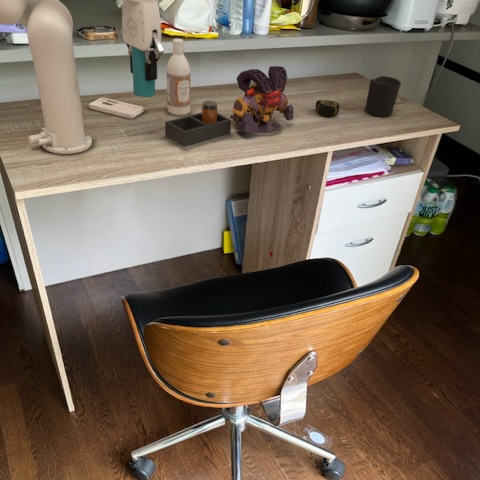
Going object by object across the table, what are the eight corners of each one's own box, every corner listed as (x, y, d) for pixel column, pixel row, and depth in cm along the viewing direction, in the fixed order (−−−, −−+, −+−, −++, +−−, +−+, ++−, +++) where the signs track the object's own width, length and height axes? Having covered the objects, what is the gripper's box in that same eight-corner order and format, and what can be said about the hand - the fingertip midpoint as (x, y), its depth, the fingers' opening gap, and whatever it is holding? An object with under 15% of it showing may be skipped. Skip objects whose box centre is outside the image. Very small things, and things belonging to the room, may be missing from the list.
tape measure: (335, 111, 171) (337, 99, 168) (339, 118, 166) (342, 106, 163) (314, 110, 170) (316, 98, 168) (318, 118, 165) (320, 105, 162)
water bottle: (141, 98, 130) (139, 30, 120) (129, 91, 133) (126, 24, 123) (159, 95, 133) (158, 28, 123) (147, 88, 136) (145, 22, 126)
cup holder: (184, 149, 141) (184, 132, 138) (165, 138, 145) (165, 121, 142) (230, 135, 150) (231, 119, 147) (210, 125, 154) (211, 109, 151)
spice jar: (208, 136, 147) (208, 107, 142) (198, 130, 149) (198, 102, 144) (219, 132, 149) (221, 104, 144) (209, 127, 152) (210, 99, 146)
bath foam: (174, 117, 157) (173, 44, 144) (163, 109, 161) (161, 37, 148) (194, 114, 160) (195, 42, 147) (183, 106, 164) (183, 35, 151)
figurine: (245, 143, 146) (250, 81, 135) (217, 125, 154) (220, 65, 143) (299, 130, 156) (308, 71, 145) (271, 115, 164) (277, 57, 153)
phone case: (88, 108, 158) (131, 119, 154) (87, 103, 157) (131, 114, 153) (102, 101, 163) (144, 111, 159) (102, 96, 162) (144, 106, 158)
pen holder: (395, 119, 169) (404, 86, 162) (366, 117, 168) (374, 84, 162) (389, 108, 176) (397, 77, 169) (361, 106, 176) (368, 75, 169)
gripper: (105, -15, 121) (111, 68, 133) (149, 1, 112) (151, 89, 124) (133, -17, 125) (136, 64, 137) (177, -2, 116) (177, 84, 128)
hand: (143, 75), depth 130 cm, fingers closed on water bottle, 5 cm apart
